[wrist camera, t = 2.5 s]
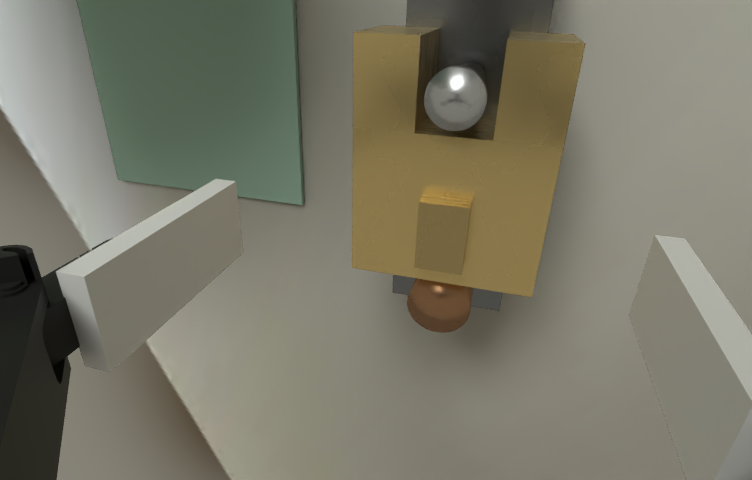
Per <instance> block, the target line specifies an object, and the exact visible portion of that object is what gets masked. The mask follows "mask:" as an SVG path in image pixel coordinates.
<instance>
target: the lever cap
mask: <svg viewBox="0 0 752 480" xmlns="http://www.w3.org/2000/svg"><path fill="white" fill-rule="evenodd" d="M439 33H440V28H429V27H407V26H386V25H384V26H379V27H375V28H370V29H365V30H360V31H356V32H353V213H352V268H357V269H363V270H369V271H375V272H381V273H387V274H393V275H400V276H406V277H412V278H418V279H424V280H430V281H436V282H442V283H448V284H454V285H460V286H466V287H472V288H478V289H484V290H490V291H496V292H502V293H508V294H515V295H521V296H527V297H532V296H533V291H534V286H535V281H536V277H537V272H538V267H539V262H540V258H541V253H542V248H543V243H544V239H545V234H546V229H547V224H548V220H549V215H550V210H551V205H552V201H553V196H554V191H555V186H556V182H557V177H558V172H559V167H560V162H561V158H562V153H563V148H564V143H565V139H566V134H567V129H568V124H569V120H570V115H571V110H572V105H573V101H574V96H575V91H576V86H577V82H578V77H579V72H580V67H581V63H582V58H583V53H584V48H585V43H584V42H583V41H581V40H580V39H579V38H578V37H576V36H575V35H574V34H558V33H537V32H515V31H511V32H510V35H509V37H508V40H507V47H506V54H505V61H504V68H503V75H502V82H501V89H500V96H499V104H498V111H497V115H491V114H482V116H481V118H480V119H479V120H478V121H477V122H476V123H475V124H474V125H472V126H471V127H469V128H467V129H464V130H461V131H449V130H445V129H442V128H440V127H439V126H437V125H436V124H435V123H433V121H432V120H431V119H430V118H429V116H428V114H427V112H426V109H425V105H424V95H425V91H426V88H427V85H428V84H429V82H430V81H431V79H432V78H433V77H434V76H435V75H436V70H437V58H438V45H439Z"/></svg>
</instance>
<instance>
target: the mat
mask: <svg viewBox="0 0 752 480" xmlns="http://www.w3.org/2000/svg"><path fill="white" fill-rule="evenodd" d="M77 4H78V8H79V12H80V17H81V21H82V25H83V30H84V34H85V38H86V43H87V47H88V51H89V56H90V60H91V64H92V69H93V73H94V77H95V82H96V86H97V90H98V95H99V99H100V103H101V108H102V112H103V116H104V121H105V125H106V129H107V133H108V138H109V142H110V146H111V151H112V155H113V159H114V164H115V168H116V172H117V177H118V180H123V181H130V182H138V183H145V184H152V185H159V186H167V187H174V188H181V189H188V190H198V189H199V188H201V187H203V186H204V185H206V184H208V183H210V182H211V181H213V180H215V179H221V180H229V181H236V186H237V196H239V197H246V198H254V199H261V200H268V201H275V202H282V203H290V204H297V205H303V204H304V181H303V159H302V137H301V114H300V92H299V70H298V48H297V25H296V3H295V0H77Z"/></svg>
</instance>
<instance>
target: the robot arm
mask: <svg viewBox="0 0 752 480" xmlns="http://www.w3.org/2000/svg"><path fill="white" fill-rule="evenodd" d="M242 253H243V243H242V234H241V224H240V215H239V205H238V196H237V186H236V181H229V180H221V179H215V180H213V181H211V182H210V183H208V184H206V185H204V186H203V187H201V188H199V189H198V190H196V191H194V192H192V193H191V194H189V195H187V196H185V197H184V198H182V199H180V200H179V201H177V202H175V203H173V204H172V205H170V206H168V207H166V208H165V209H163V210H161V211H159V212H158V213H156V214H154V215H153V216H151V217H149V218H147V219H146V220H144V221H142V222H140V223H139V224H137V225H135V226H134V227H132V228H130V229H128V230H127V231H125V232H123V233H121V234H120V235H118V236H116V237H115V238H112V239H109V240H106V241H105V242H103V243H101V244H99V245H98V246H96V247H94V248H93V249H92V251H87V252H86V253H84V254H82V255H80V258H75V259H74V260H72V261H70V262H68V263H66V264H65V265H63V266H61V267H59V268H58V269H56V270H54V271H52V272H51V273H49V274H47V275H46V276H44V277H42V278H41V275H40V272H39V269H38V266H37V262H36V260H35V257H34V254H33V250H32V248H30V247H27V246H23V245H8V246H1V247H0V480H56V478H57V471H58V463H59V456H60V447H61V440H62V433H63V432H62V431H63V425H64V417H65V409H66V402H67V394H68V386H69V378H70V370H71V367H70V363H69V360H68V357H67V356H68V355H69V354H71V353H72V352H73V351H75V350H76V349H77V348H78V347H79V348H80V352H81V355H82V358H83V361H84V365H85V366H87V367H91V368H95V369H99V370H103V371H108V372H112V371H113V370H114V369H115V368H116V367H117V366H118V365H119V364H120V363H122V362H123V361H124V360H125V359H126V358H127V357H128V356H129V355H130V354H132V353H133V352H134V351H135V350H136V349H137V348H138V347H139V346H140V345H141V344H143V343H144V342H145V341H146V340H147V339H148V338H149V337H150V336H151V335H153V334H154V333H155V332H156V331H157V330H158V329H159V328H160V327H161V326H163V325H164V324H165V323H166V322H167V321H168V320H169V319H170V318H171V317H173V316H174V315H175V314H176V313H177V312H178V311H179V310H180V309H181V308H182V307H184V306H185V305H186V304H187V303H188V302H189V301H190V300H191V299H192V298H194V297H195V296H196V295H197V294H198V293H199V292H200V291H201V290H202V289H204V288H205V287H206V286H207V285H208V284H209V283H210V282H211V281H212V280H214V279H215V278H216V277H217V276H218V275H219V274H220V273H221V272H222V271H224V270H225V269H226V268H227V267H228V266H229V265H230V264H231V263H232V262H233V261H235V260H236V259H237V258H238V257H239V256H240V255H241V254H242ZM629 316H630V319H631V322H632V325H633V328H634V331H635V334H636V337H637V339H638V342H639V345H640V348H641V351H642V354H643V357H644V359H645V362H646V365H647V368H648V371H649V374H650V377H651V379H652V382H653V385H654V388H655V391H656V394H657V397H658V399H659V402H660V405H661V408H662V411H663V414H664V417H665V419H666V422H667V425H668V428H669V431H670V434H671V437H672V439H673V442H674V445H675V448H676V451H677V454H678V457H679V459H680V462H681V465H682V468H683V471H684V474H685V477H686V479H687V480H752V334H751V332H750V331H749V330H748V328H747V327H746V325H745V324H744V322H743V321H742V320H741V318H740V317H739V315H738V314H737V312H736V311H735V310H734V308H733V307H732V305H731V304H730V302H729V301H728V300H727V298H726V297H725V295H724V294H723V292H722V291H721V290H720V288H719V287H718V285H717V284H716V282H715V281H714V280H713V278H712V277H711V275H710V274H709V272H708V271H707V270H706V268H705V267H704V265H703V264H702V262H701V261H700V260H699V258H698V257H697V255H696V254H695V252H694V251H693V250H692V248H691V247H690V245H689V244H688V242H687V241H686V240H685V239H683V238H676V237H668V236H660V235H655V236H654V239H653V242H652V245H651V249H650V252H649V255H648V258H647V261H646V264H645V267H644V270H643V273H642V277H641V280H640V283H639V286H638V289H637V292H636V295H635V298H634V301H633V304H632V308H631V311H630V314H629Z"/></svg>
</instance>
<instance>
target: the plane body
mask: <svg viewBox="0 0 752 480" xmlns="http://www.w3.org/2000/svg"><path fill="white" fill-rule="evenodd" d="M553 2H554V0H407V19H406V26H407V27H429V28H440V33H439V45H438V58H437V70H436V75H435V76H434V77H433V78H432V79H431V81H430V82H429V84H428V85H427V88H426V91H425V95H424V105H425V109H426V112H427V114H428V116H429V118H430V119H431V120H432V121H433V123H435V124H436V125H437V126H439V127H440V128H442V129H445V130H449V131H461V130H464V129H467V128H469V127H471V126H472V125H474V124H475V123H476V122H477V121H478V120H479V119H480V118H481V116H482V114H491V115H497V111H498V104H499V96H500V89H501V82H502V75H503V68H504V61H505V54H506V47H507V40H508V37H509V35H510V32H511V31H515V32H537V33H548V30H549V25H550V19H551V13H552V7H553ZM393 293H399V294H405V295H409V296H408V301H407V305H408V310H409V312H410V314H411V316H412V318H413V319H414V320H415V321H416V322H417V323H418V324H419V325H421V326H422V327H424V328H426V329H428V330H431V331H434V332H450V331H454V330H456V329H458V328H460V327H461V326H462V325H463V324H464V323H465V322H466V320H467V319H468V316H469V313H470V307H471V306H474V307H480V308H485V309H491V310H497V311H499V310H500V304H501V298H502V292H496V291H490V290H484V289H478V288H472V287H466V286H460V285H454V284H448V283H442V282H436V281H430V280H424V279H418V278H412V277H406V276H400V275H394V276H393Z"/></svg>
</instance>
